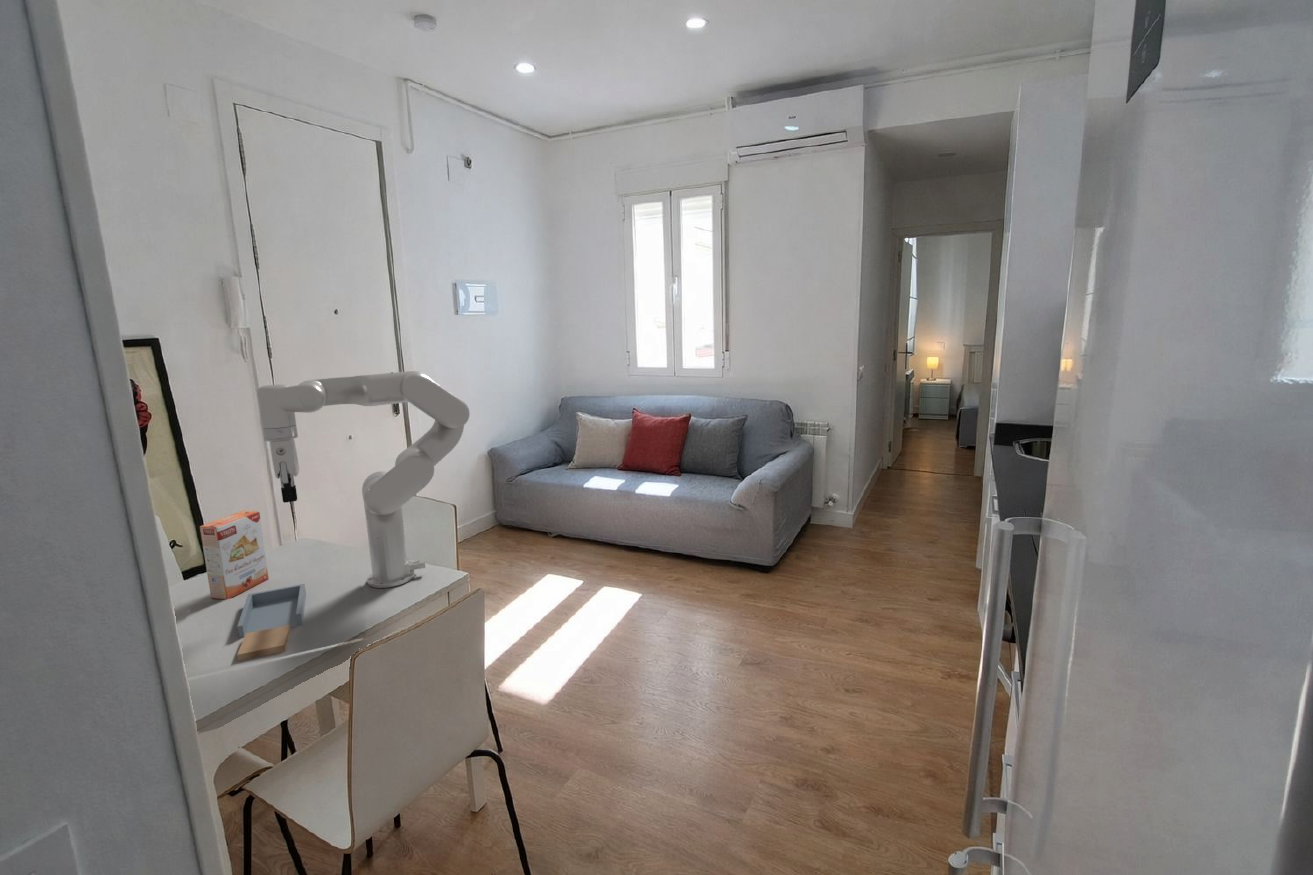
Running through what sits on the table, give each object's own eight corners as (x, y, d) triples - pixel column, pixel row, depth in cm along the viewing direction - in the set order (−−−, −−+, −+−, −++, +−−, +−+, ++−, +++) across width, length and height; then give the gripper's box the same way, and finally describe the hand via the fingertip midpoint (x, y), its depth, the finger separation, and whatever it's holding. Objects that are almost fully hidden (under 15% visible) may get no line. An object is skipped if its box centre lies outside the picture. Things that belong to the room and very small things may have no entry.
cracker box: (229, 600, 164) (216, 527, 160) (210, 599, 165) (197, 526, 161) (271, 578, 178) (260, 510, 173) (253, 577, 179) (242, 509, 175)
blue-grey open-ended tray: (306, 595, 167) (304, 583, 166) (302, 626, 150) (300, 613, 149) (250, 606, 161) (248, 594, 160) (239, 639, 144) (237, 626, 144)
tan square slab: (291, 634, 147) (289, 624, 147) (285, 654, 138) (284, 644, 138) (247, 643, 144) (245, 633, 143) (238, 664, 135) (237, 654, 134)
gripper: (295, 436, 152) (305, 506, 156) (298, 426, 165) (307, 491, 169) (259, 439, 149) (270, 511, 153) (266, 429, 162) (276, 495, 166)
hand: (290, 500), depth 161 cm, fingers closed
